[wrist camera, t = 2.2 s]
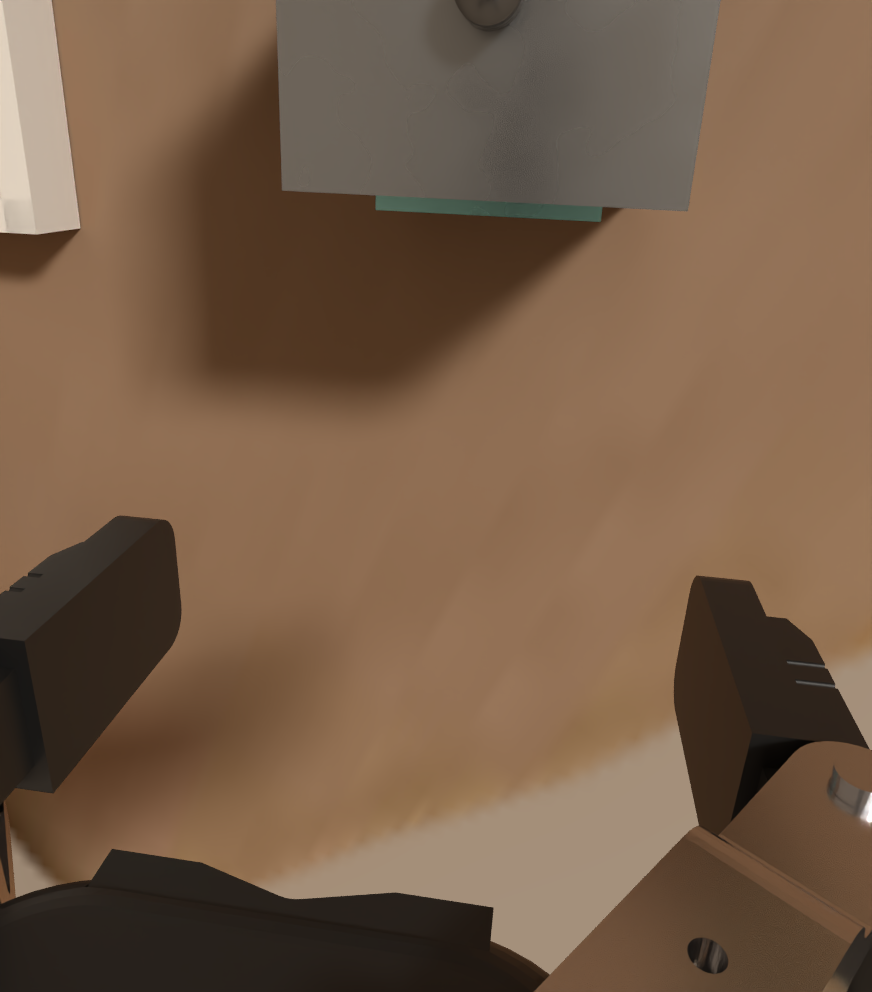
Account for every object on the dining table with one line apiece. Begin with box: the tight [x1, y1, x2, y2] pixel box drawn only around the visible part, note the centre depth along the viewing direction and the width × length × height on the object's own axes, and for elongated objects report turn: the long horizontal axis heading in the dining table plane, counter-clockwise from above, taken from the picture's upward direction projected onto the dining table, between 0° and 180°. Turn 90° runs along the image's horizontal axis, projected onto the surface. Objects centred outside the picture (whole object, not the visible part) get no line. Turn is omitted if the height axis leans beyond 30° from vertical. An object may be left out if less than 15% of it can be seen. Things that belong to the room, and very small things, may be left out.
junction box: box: [276, 0, 720, 222], centre depth 19 cm, size 7×8×11 cm
